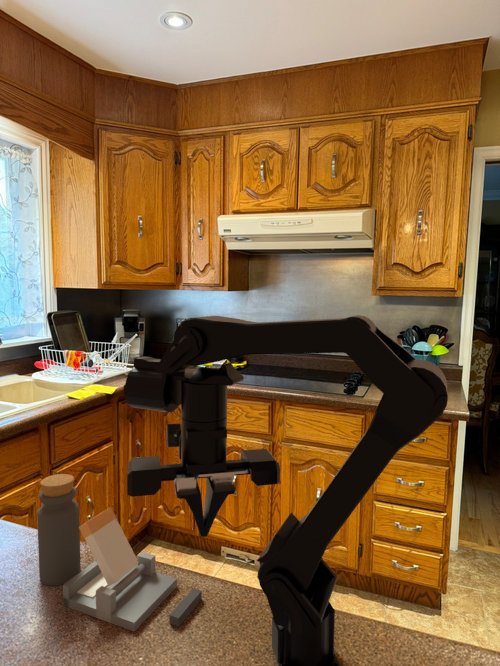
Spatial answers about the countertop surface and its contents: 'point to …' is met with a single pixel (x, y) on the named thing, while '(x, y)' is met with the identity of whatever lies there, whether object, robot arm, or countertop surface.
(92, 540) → the lever
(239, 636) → the countertop surface
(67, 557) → the bottle
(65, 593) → the grey twin-post base
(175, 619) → the long grey bar
